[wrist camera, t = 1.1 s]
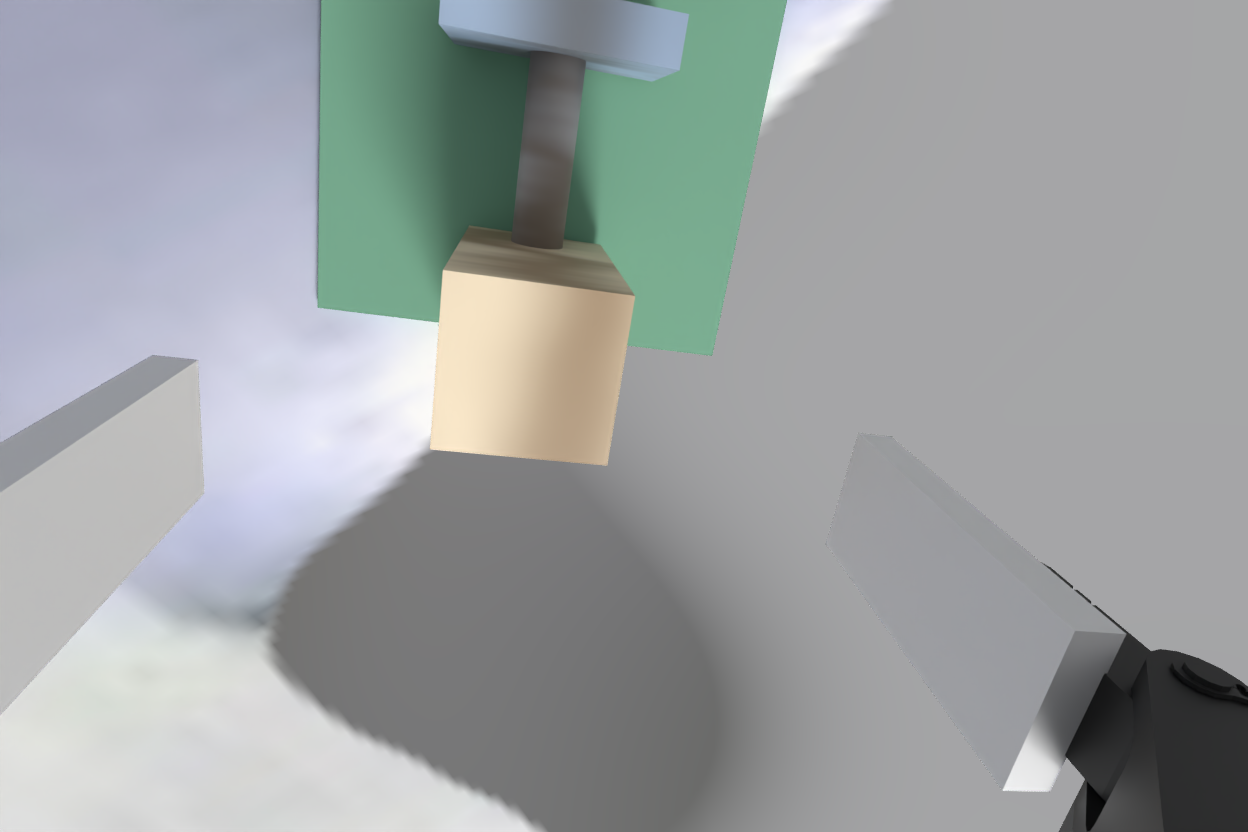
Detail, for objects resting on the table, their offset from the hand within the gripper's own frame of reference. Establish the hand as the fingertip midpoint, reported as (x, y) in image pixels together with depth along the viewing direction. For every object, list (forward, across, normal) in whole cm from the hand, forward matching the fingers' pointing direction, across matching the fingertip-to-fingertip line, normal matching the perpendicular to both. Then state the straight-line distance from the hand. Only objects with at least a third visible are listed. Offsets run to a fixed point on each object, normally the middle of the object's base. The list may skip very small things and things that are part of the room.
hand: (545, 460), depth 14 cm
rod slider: (+15, 0, +4) cm, 15 cm away
